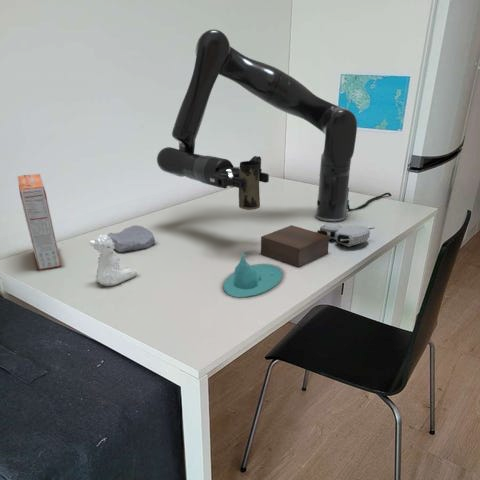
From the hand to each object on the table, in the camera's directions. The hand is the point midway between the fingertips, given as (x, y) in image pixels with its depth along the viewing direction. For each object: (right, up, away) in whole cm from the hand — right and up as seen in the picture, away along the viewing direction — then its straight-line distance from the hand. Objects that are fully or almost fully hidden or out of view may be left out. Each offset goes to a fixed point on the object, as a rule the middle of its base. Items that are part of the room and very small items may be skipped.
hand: (256, 181), depth 122 cm
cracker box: (-56, -19, +7) cm, 59 cm away
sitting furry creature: (-35, -26, -5) cm, 44 cm away
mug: (-1, -5, +5) cm, 7 cm away
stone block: (-35, -14, +15) cm, 41 cm away
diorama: (-1, -26, -5) cm, 26 cm away
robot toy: (+25, -12, +18) cm, 33 cm away
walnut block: (+11, -17, +9) cm, 22 cm away
